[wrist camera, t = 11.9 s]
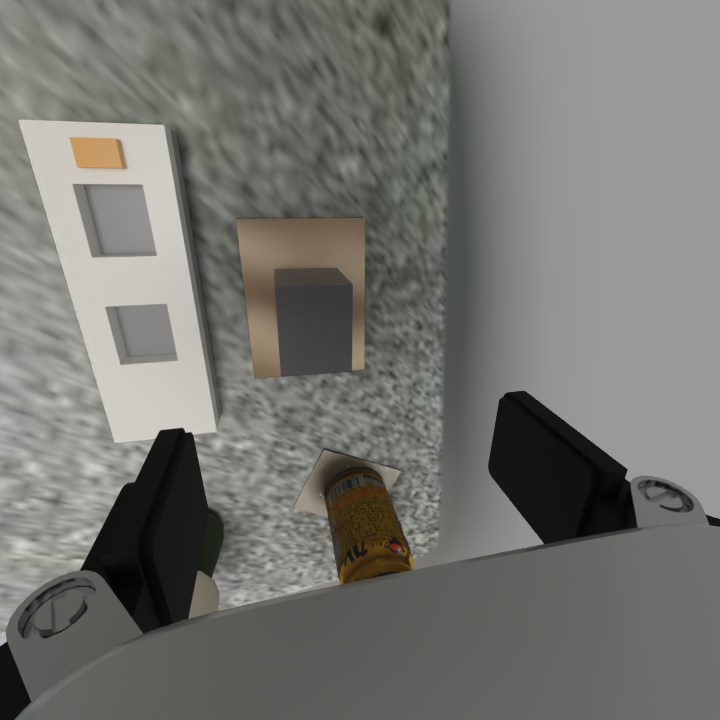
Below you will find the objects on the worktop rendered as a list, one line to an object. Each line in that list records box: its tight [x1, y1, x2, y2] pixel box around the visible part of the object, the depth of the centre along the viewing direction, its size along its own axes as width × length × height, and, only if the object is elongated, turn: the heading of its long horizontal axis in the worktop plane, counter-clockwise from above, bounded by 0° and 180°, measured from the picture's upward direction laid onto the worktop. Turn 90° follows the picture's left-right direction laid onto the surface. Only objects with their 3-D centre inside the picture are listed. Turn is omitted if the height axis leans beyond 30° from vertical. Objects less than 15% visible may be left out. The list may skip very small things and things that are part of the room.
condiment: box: [293, 450, 413, 584], centre depth 32 cm, size 7×8×12 cm
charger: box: [274, 268, 353, 377], centre depth 26 cm, size 6×4×7 cm
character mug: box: [188, 513, 223, 619], centre depth 29 cm, size 11×7×13 cm, turn 20°
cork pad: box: [236, 218, 365, 379], centre depth 29 cm, size 12×9×1 cm
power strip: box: [18, 120, 222, 443], centre depth 25 cm, size 20×7×4 cm, turn 0°
